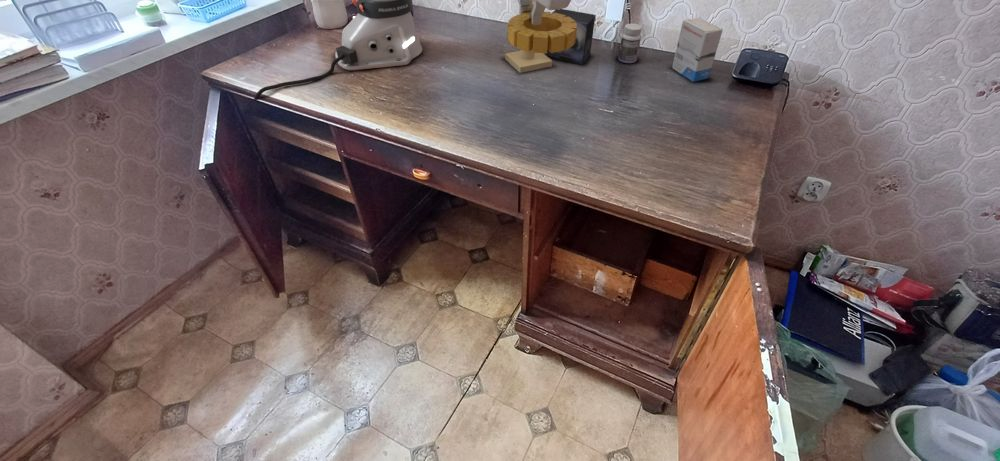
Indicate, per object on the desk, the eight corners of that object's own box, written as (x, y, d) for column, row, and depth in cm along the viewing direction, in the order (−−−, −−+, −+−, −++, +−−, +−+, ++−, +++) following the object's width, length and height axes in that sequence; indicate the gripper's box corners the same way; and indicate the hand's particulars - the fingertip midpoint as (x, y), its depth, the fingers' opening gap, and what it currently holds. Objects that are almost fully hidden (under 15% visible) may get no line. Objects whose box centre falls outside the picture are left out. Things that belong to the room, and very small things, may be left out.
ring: (525, 57, 75) (526, 41, 73) (497, 32, 83) (497, 16, 81) (587, 46, 78) (590, 30, 77) (554, 22, 86) (556, 7, 84)
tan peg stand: (520, 73, 115) (521, 6, 104) (504, 59, 120) (505, -6, 110) (552, 66, 117) (557, 1, 107) (535, 53, 123) (538, -11, 112)
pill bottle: (621, 54, 122) (627, 21, 117) (639, 58, 121) (645, 24, 115) (615, 61, 119) (620, 27, 114) (632, 65, 118) (639, 31, 112)
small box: (543, 57, 121) (546, 15, 114) (553, 48, 125) (556, 7, 118) (582, 65, 118) (587, 22, 110) (591, 55, 122) (596, 13, 114)
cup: (325, 32, 134) (316, -4, 127) (310, 23, 140) (300, -12, 133) (355, 24, 139) (347, -12, 132) (338, 15, 144) (330, -19, 137)
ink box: (709, 79, 112) (725, 29, 104) (691, 82, 110) (706, 32, 102) (686, 64, 118) (700, 16, 109) (669, 68, 116) (682, 19, 108)
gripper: (490, -83, 79) (490, 3, 88) (547, -55, 65) (540, 44, 75) (523, -86, 80) (520, -1, 90) (586, -59, 67) (574, 37, 77)
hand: (530, 19), depth 82 cm, fingers closed on ring, 2 cm apart
